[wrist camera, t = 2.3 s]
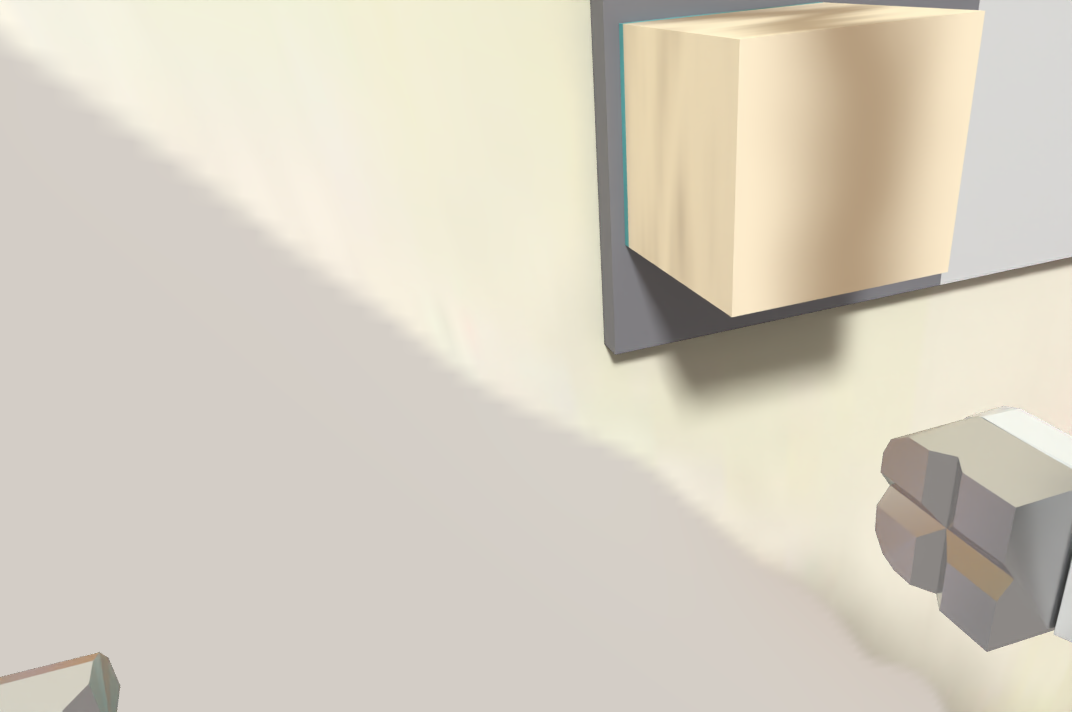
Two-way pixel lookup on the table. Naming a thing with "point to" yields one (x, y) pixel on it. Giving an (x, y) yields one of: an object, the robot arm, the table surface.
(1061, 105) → the mat
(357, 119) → the table surface
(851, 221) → the beech block
